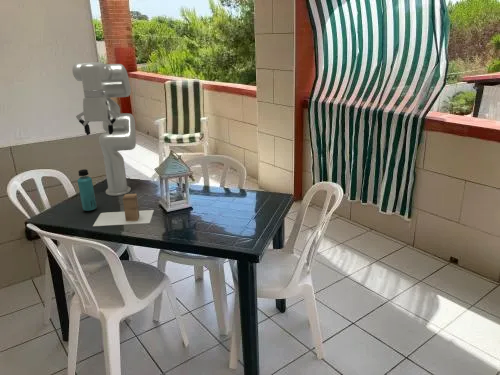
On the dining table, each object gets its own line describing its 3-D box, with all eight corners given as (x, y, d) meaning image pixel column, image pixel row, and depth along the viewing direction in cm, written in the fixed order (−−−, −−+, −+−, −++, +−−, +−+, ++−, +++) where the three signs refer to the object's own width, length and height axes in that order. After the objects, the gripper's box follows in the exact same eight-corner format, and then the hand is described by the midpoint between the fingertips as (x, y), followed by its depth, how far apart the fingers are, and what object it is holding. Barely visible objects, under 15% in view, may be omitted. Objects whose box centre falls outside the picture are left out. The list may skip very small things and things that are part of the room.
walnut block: (128, 217, 181) (125, 194, 177) (139, 216, 181) (136, 193, 177) (126, 221, 176) (122, 198, 172) (137, 221, 176) (134, 197, 172)
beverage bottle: (92, 214, 185) (85, 172, 178) (79, 213, 187) (72, 172, 180) (100, 208, 191) (93, 168, 184) (87, 207, 193) (80, 167, 186)
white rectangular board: (101, 213, 186) (100, 212, 186) (154, 210, 188) (153, 209, 187) (92, 227, 173) (92, 226, 172) (149, 223, 174) (149, 222, 174)
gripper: (116, 92, 175) (121, 131, 180) (75, 93, 174) (82, 133, 180) (112, 94, 168) (117, 135, 173) (69, 96, 167) (76, 136, 173)
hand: (99, 134), depth 176 cm, fingers open, 9 cm apart
